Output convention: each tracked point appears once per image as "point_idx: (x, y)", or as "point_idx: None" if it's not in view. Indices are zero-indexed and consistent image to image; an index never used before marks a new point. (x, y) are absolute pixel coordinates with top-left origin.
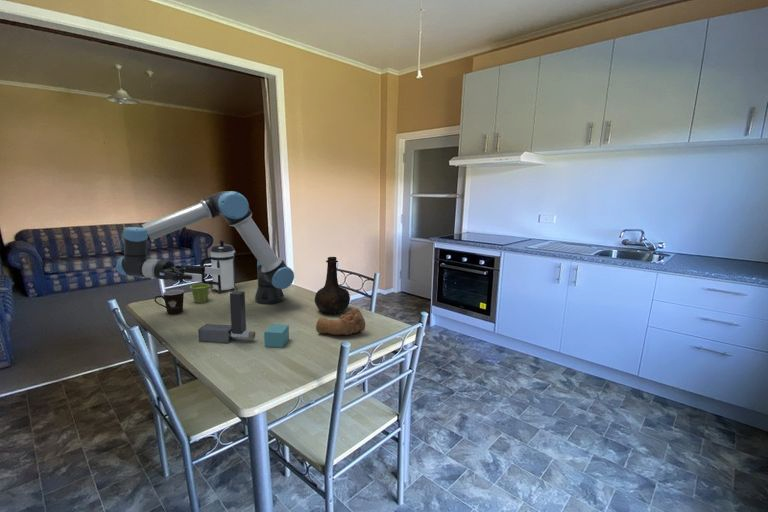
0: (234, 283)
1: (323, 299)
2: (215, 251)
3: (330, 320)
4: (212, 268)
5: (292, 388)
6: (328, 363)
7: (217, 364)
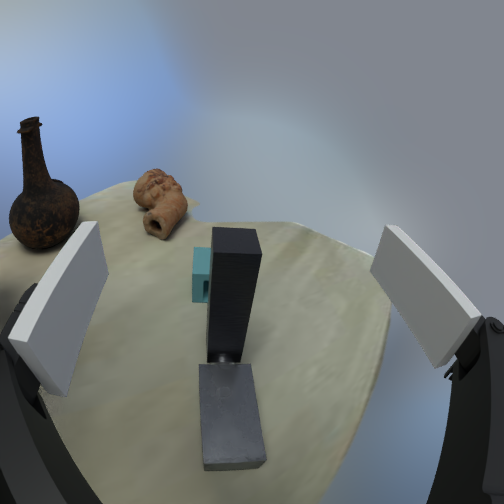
0: None
1: (65, 209)
2: None
3: (167, 202)
4: (70, 271)
5: (341, 244)
6: (269, 223)
7: (345, 348)
